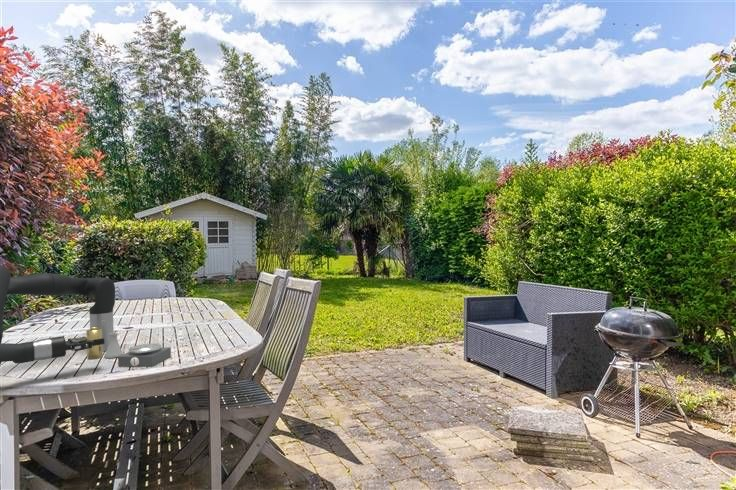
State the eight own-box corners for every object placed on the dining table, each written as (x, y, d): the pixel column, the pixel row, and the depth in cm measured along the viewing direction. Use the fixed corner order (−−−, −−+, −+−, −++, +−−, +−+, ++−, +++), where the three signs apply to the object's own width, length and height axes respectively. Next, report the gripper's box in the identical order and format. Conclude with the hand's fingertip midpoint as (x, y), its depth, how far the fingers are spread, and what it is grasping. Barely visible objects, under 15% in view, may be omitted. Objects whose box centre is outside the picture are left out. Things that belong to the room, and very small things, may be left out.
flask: (109, 359, 180) (108, 336, 180) (100, 357, 184) (100, 334, 184) (126, 355, 186) (126, 332, 186) (118, 353, 190) (117, 331, 190)
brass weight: (84, 359, 164) (83, 328, 164) (93, 356, 169) (92, 325, 169) (96, 359, 164) (95, 328, 163) (105, 356, 169) (104, 325, 168)
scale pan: (121, 353, 170) (121, 351, 170) (139, 346, 182) (139, 343, 182) (151, 353, 170) (150, 350, 170) (167, 345, 182) (167, 343, 182)
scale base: (117, 367, 169) (117, 355, 169) (139, 356, 184) (139, 346, 183) (151, 366, 168) (151, 355, 168) (170, 356, 183) (170, 346, 183)
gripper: (51, 341, 151) (106, 333, 163) (45, 335, 161) (97, 327, 173) (52, 362, 151) (107, 352, 163) (46, 355, 161) (98, 346, 173)
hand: (102, 339), depth 168 cm, fingers closed on brass weight, 5 cm apart
